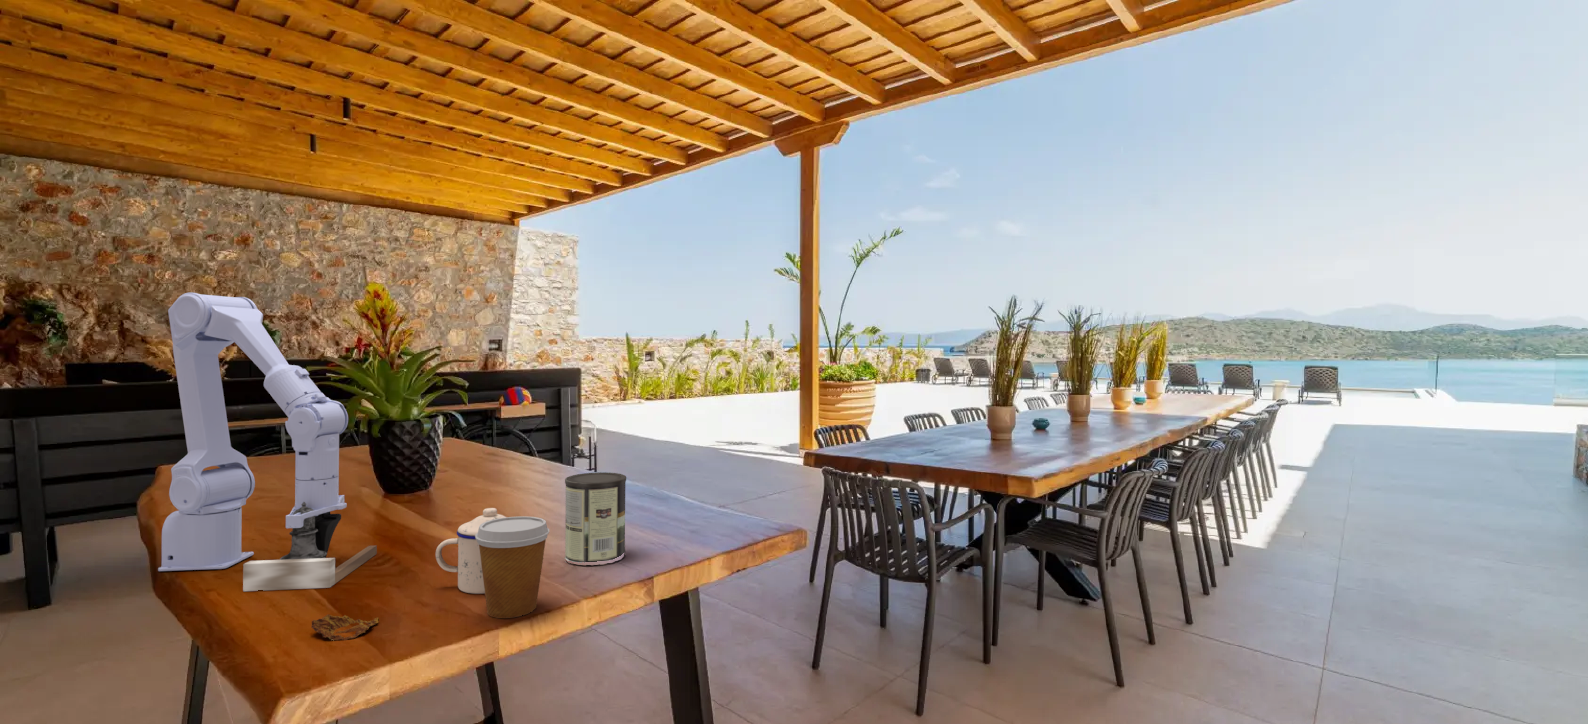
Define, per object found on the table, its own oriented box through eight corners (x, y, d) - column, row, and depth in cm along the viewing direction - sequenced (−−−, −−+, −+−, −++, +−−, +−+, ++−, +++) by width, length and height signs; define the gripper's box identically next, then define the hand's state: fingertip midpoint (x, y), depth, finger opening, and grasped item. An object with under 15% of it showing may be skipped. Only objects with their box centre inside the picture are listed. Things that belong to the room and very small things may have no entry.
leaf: (351, 646, 83) (354, 632, 83) (299, 637, 83) (302, 623, 83) (387, 630, 89) (389, 617, 89) (338, 622, 90) (340, 609, 90)
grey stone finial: (335, 573, 107) (336, 498, 107) (305, 586, 101) (305, 507, 101) (301, 571, 108) (302, 497, 108) (269, 584, 102) (269, 505, 102)
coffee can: (597, 545, 125) (598, 470, 125) (637, 555, 120) (638, 476, 120) (551, 559, 117) (552, 478, 116) (591, 570, 111) (593, 485, 111)
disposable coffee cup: (555, 615, 92) (556, 527, 92) (479, 629, 87) (480, 536, 87) (540, 593, 100) (541, 512, 100) (469, 605, 95) (471, 520, 95)
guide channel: (243, 591, 99) (243, 564, 99) (303, 556, 116) (303, 533, 115) (329, 587, 101) (330, 561, 101) (376, 554, 118) (376, 531, 118)
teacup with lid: (524, 573, 109) (525, 501, 109) (516, 593, 100) (517, 514, 100) (443, 578, 106) (443, 504, 106) (427, 599, 97) (428, 518, 97)
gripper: (323, 485, 102) (322, 575, 102) (364, 469, 116) (363, 547, 116) (270, 486, 101) (269, 577, 101) (318, 469, 115) (317, 549, 115)
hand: (316, 561), depth 109 cm, fingers closed
